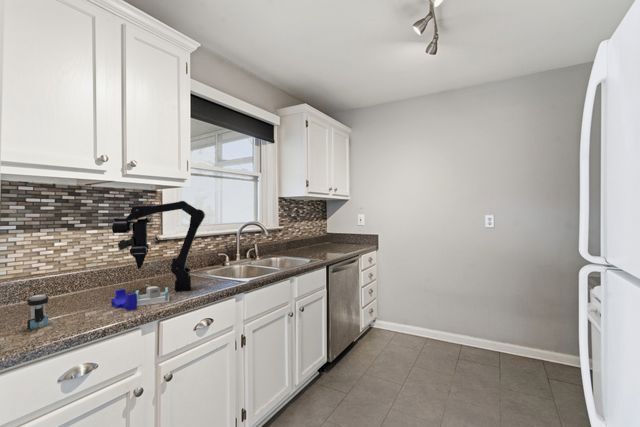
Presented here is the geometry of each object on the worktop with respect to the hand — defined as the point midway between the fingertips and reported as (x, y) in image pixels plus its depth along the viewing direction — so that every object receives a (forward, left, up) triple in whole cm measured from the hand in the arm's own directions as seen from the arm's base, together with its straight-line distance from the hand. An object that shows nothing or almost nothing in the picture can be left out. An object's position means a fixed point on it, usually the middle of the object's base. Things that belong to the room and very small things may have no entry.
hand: (140, 266), depth 142 cm
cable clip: (+4, +21, -12) cm, 25 cm away
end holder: (-5, +17, -12) cm, 22 cm away
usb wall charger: (-6, +17, -10) cm, 21 cm away
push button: (+26, +32, -12) cm, 43 cm away
